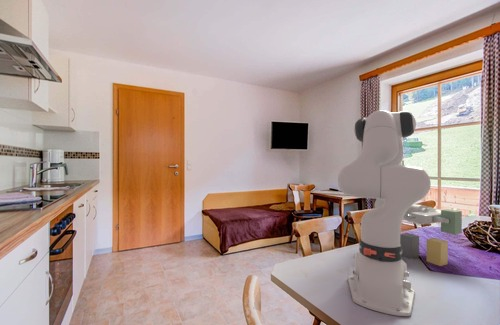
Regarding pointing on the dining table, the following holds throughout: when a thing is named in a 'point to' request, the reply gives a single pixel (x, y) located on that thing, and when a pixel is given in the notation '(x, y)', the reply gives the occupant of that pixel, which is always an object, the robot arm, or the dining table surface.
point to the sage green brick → (452, 221)
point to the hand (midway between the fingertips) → (453, 220)
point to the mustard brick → (437, 251)
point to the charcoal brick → (409, 245)
